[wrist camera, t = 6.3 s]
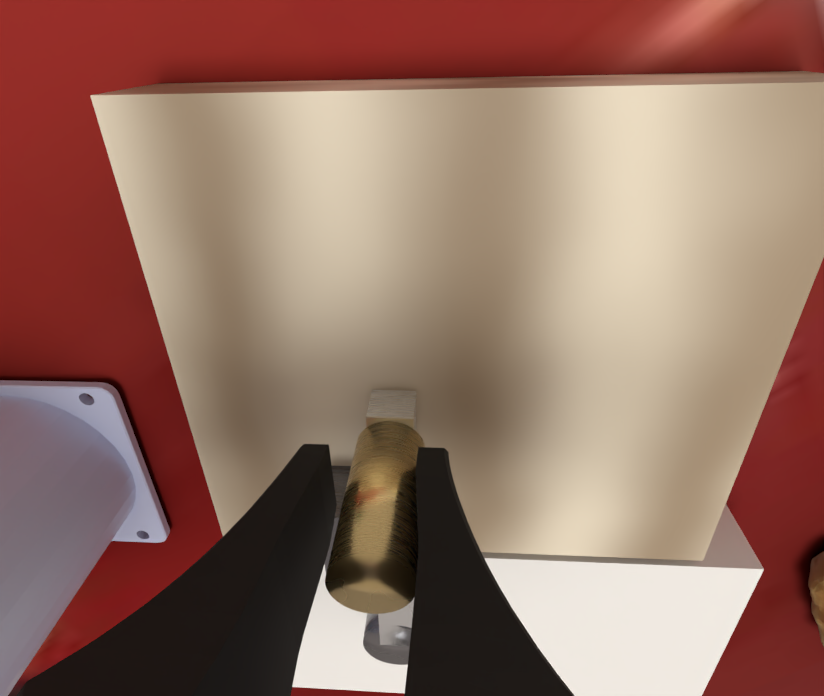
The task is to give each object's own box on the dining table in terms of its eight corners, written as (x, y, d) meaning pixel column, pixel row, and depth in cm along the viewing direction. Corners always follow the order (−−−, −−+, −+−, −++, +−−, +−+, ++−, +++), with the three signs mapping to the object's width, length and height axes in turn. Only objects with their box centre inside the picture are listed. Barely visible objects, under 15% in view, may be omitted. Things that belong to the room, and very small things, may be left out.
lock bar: (432, 634, 20) (427, 807, 16) (369, 630, 20) (345, 800, 16) (438, 391, 14) (432, 555, 10) (350, 388, 14) (304, 549, 10)
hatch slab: (252, 479, 21) (224, 542, 18) (157, 83, 14) (90, 95, 11) (670, 492, 20) (703, 560, 17) (803, 71, 13) (893, 81, 10)
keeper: (340, 532, 18) (328, 586, 16) (331, 465, 16) (316, 517, 14) (369, 533, 18) (361, 587, 16) (363, 466, 16) (353, 518, 14)
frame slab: (286, 619, 26) (267, 685, 23) (253, 484, 21) (226, 547, 18) (668, 638, 24) (694, 709, 22) (723, 499, 20) (764, 569, 17)
